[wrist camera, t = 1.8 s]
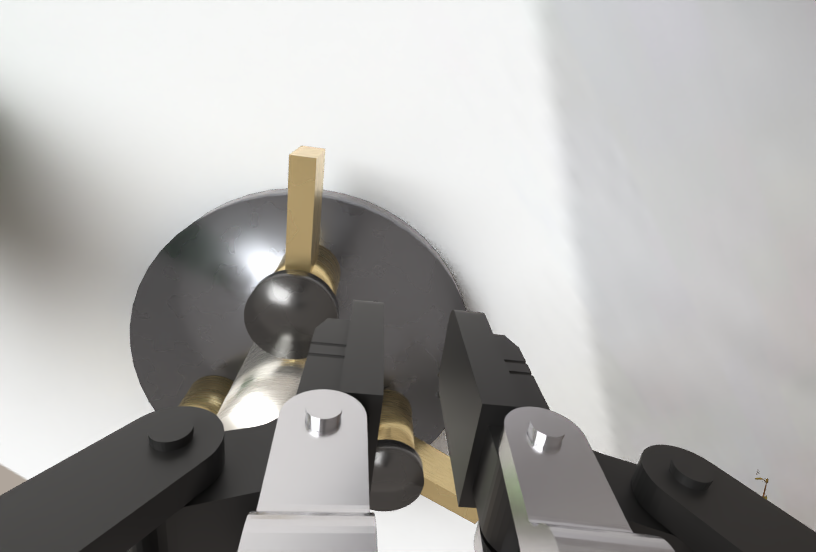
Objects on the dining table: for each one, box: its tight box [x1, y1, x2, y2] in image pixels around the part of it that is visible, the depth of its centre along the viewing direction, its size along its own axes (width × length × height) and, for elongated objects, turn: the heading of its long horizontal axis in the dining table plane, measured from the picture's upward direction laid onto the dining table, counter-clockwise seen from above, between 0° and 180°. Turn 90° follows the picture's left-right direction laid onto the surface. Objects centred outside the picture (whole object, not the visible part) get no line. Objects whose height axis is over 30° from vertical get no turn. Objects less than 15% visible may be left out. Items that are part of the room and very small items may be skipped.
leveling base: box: [130, 189, 466, 445], centre depth 27 cm, size 22×22×12 cm
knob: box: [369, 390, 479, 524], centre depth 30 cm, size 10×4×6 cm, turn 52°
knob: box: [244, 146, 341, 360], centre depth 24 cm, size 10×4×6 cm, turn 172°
